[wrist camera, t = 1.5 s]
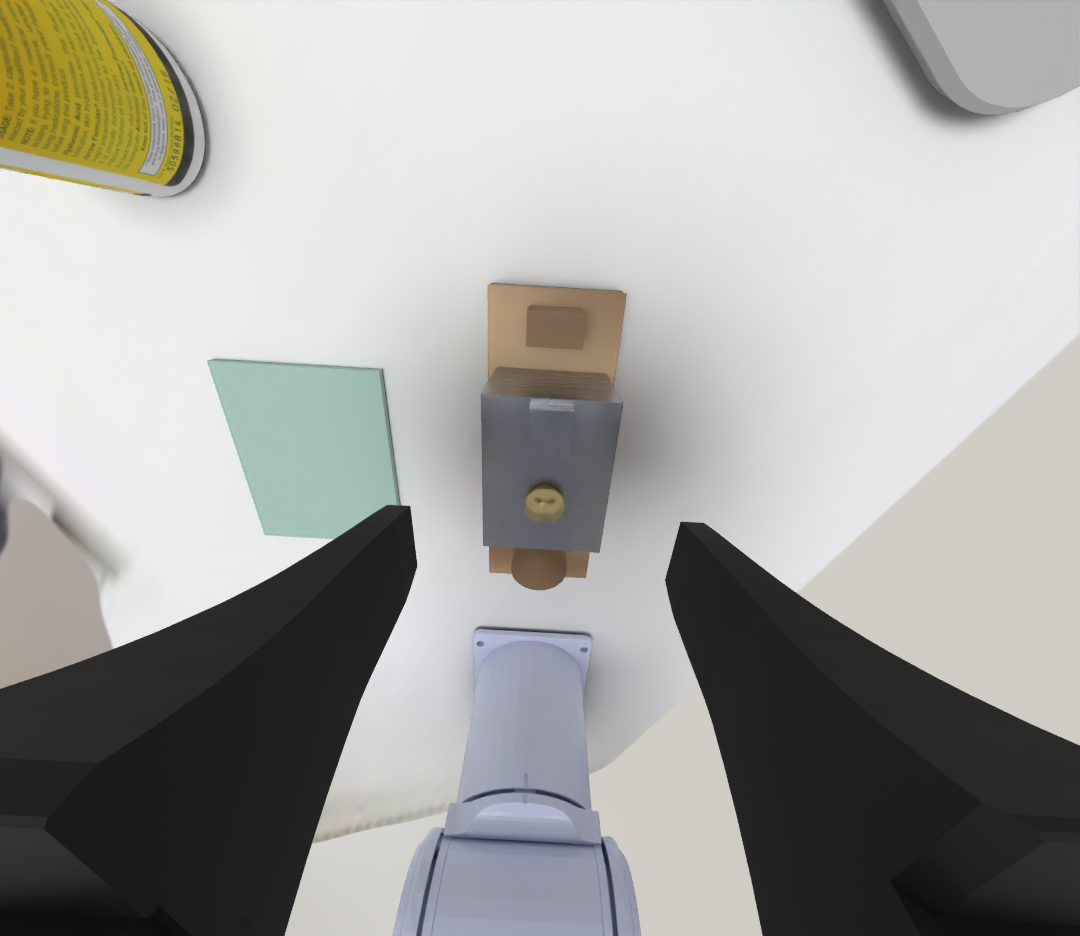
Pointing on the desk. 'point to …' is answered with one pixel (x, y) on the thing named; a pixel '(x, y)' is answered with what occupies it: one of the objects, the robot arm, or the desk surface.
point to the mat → (309, 443)
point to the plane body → (550, 344)
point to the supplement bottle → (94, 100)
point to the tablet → (993, 49)
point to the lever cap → (547, 457)
